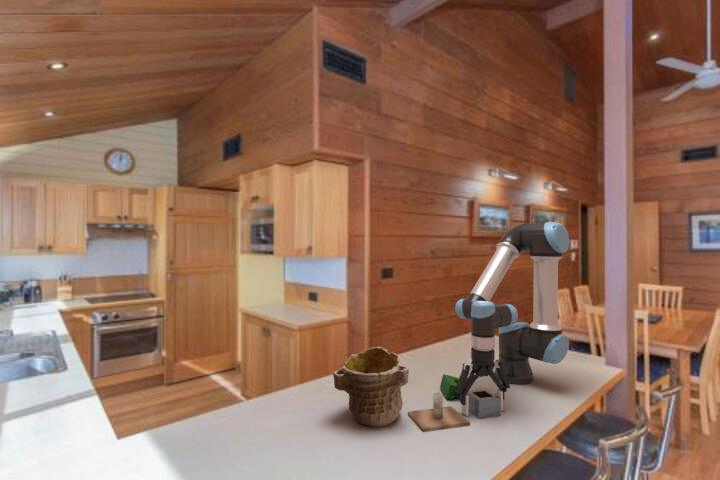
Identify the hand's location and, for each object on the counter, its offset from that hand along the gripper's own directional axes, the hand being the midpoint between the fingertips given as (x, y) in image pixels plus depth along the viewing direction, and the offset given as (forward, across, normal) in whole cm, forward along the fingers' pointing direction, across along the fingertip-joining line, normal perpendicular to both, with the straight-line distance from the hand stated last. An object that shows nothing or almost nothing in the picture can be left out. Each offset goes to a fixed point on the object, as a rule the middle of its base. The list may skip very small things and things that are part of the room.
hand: (482, 411), depth 132 cm
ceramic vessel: (0, +38, -6) cm, 38 cm away
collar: (0, 0, 0) cm, 0 cm away
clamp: (0, +2, -16) cm, 16 cm away
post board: (0, +17, +1) cm, 17 cm away
